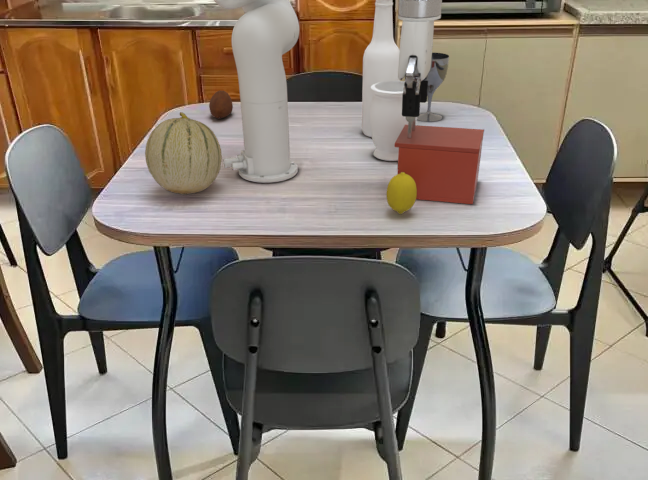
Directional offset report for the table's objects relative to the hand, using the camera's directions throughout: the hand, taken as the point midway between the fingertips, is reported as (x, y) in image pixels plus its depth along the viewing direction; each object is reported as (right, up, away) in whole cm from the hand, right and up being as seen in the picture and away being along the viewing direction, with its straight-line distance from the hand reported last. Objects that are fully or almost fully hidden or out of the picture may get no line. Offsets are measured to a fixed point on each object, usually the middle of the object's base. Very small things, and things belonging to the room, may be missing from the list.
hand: (414, 108), depth 128 cm
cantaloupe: (-45, -14, +9) cm, 48 cm away
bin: (+6, -14, +8) cm, 17 cm away
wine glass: (+10, +15, +48) cm, 51 cm away
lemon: (-3, -20, -2) cm, 21 cm away
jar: (-2, -2, +25) cm, 25 cm away
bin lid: (+5, -5, +2) cm, 8 cm away
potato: (-44, +16, +52) cm, 70 cm away
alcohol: (-3, +7, +38) cm, 39 cm away
